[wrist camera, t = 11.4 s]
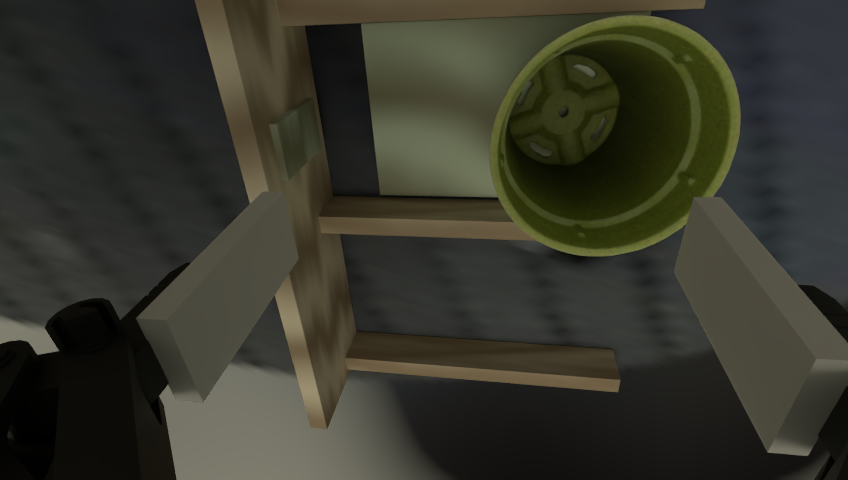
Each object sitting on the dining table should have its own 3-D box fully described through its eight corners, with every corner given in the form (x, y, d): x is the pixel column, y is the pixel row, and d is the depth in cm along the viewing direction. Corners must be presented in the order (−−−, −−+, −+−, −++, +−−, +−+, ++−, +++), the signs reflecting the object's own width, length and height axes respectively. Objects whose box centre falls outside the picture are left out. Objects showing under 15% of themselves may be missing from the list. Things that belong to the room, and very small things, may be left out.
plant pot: (591, 216, 28) (649, 288, 21) (448, 156, 27) (452, 209, 19) (683, 64, 25) (796, 80, 17) (523, -13, 24) (565, -34, 16)
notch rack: (276, -16, 26) (193, -6, 19) (691, -40, 22) (769, -38, 16) (345, 346, 39) (310, 427, 33) (609, 366, 36) (631, 461, 29)
